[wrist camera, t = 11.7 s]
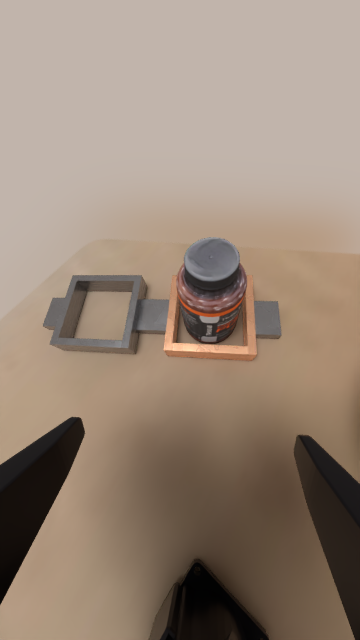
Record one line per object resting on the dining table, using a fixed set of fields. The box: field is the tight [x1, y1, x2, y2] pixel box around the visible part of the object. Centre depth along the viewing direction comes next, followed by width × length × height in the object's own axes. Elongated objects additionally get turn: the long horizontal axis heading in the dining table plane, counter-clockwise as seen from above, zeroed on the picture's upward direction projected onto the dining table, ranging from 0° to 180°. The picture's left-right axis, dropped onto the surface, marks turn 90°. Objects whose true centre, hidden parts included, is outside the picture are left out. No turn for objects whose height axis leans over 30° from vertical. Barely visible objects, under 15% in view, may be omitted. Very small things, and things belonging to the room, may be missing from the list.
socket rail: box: [43, 275, 281, 361], centre depth 25 cm, size 28×9×2 cm, turn 86°
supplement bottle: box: [176, 237, 247, 343], centre depth 20 cm, size 6×6×11 cm
